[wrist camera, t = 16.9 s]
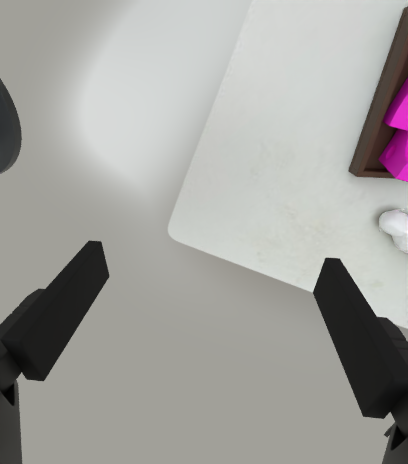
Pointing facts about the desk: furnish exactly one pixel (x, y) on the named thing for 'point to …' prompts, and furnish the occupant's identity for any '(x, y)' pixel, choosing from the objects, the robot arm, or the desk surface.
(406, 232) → the white lumpy piece
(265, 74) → the desk surface
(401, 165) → the magenta curved bracket
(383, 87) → the dark brown rectangular tray
